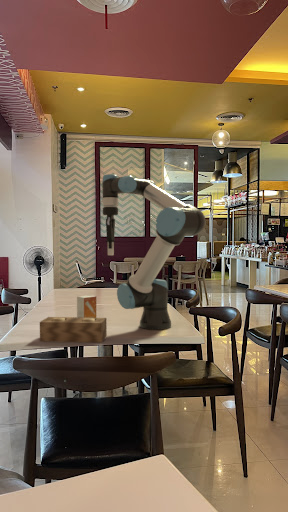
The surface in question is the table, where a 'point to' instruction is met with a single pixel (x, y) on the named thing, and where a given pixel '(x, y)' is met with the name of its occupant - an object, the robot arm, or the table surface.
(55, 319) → the peg
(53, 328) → the socket block
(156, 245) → the robot arm
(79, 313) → the small box
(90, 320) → the peg
